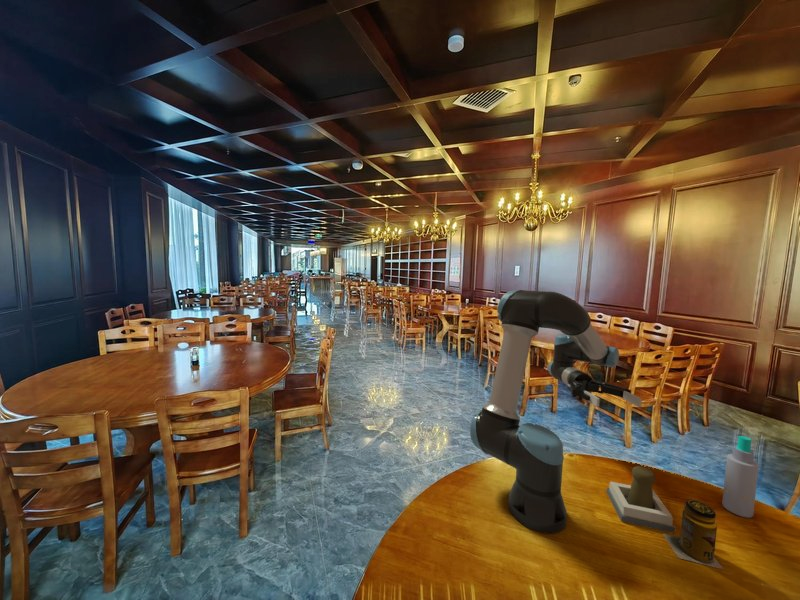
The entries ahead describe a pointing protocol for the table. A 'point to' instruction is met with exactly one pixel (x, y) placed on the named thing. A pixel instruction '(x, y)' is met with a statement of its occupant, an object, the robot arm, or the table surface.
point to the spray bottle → (740, 479)
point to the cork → (641, 488)
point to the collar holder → (640, 509)
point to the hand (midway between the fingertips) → (619, 402)
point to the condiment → (696, 534)
